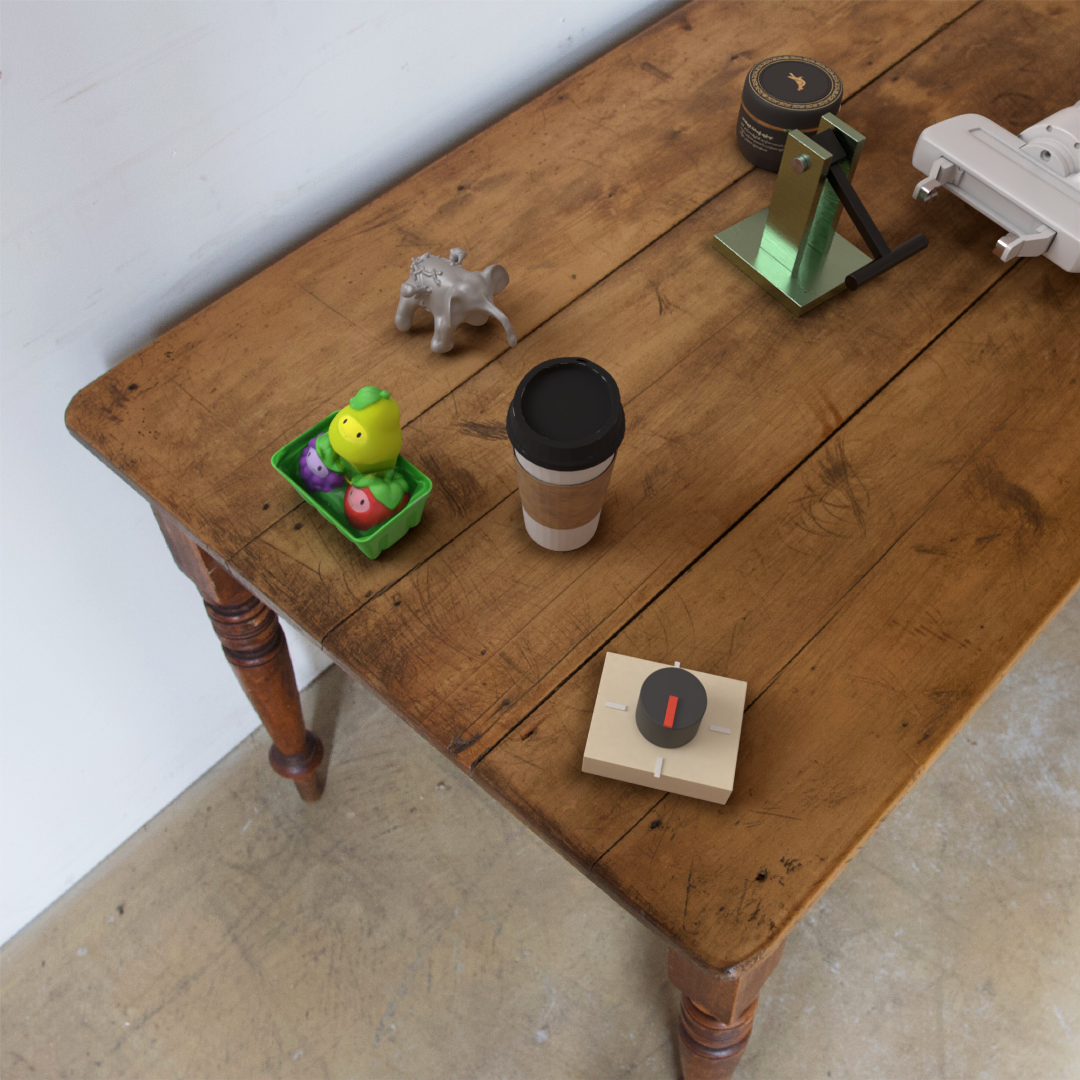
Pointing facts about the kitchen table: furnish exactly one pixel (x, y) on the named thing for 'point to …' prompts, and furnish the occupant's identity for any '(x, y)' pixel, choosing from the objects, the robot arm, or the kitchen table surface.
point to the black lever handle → (864, 221)
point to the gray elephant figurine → (451, 296)
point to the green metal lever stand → (800, 226)
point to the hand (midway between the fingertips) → (959, 222)
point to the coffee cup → (564, 448)
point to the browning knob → (670, 707)
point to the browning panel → (678, 770)
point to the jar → (784, 105)
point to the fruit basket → (358, 472)
